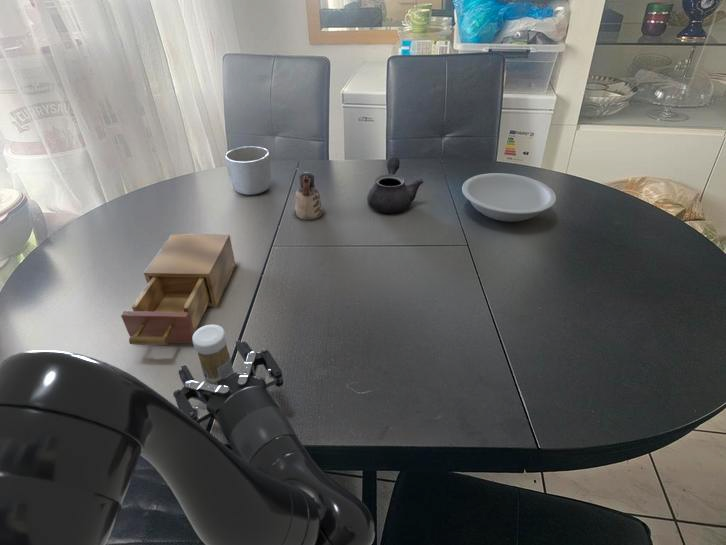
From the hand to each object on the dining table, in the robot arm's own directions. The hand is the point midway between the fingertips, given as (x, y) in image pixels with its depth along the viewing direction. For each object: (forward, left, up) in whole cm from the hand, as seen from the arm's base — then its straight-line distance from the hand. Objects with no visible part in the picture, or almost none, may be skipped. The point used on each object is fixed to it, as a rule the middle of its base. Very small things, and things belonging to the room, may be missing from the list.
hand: (212, 356), depth 68 cm
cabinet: (-13, +28, -8) cm, 32 cm away
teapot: (+30, +69, -8) cm, 76 cm away
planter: (-12, +75, -8) cm, 76 cm away
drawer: (-13, +14, -7) cm, 21 cm away
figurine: (+7, +60, -8) cm, 61 cm away
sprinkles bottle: (+1, -1, -8) cm, 8 cm away
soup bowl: (+60, +62, -8) cm, 87 cm away
